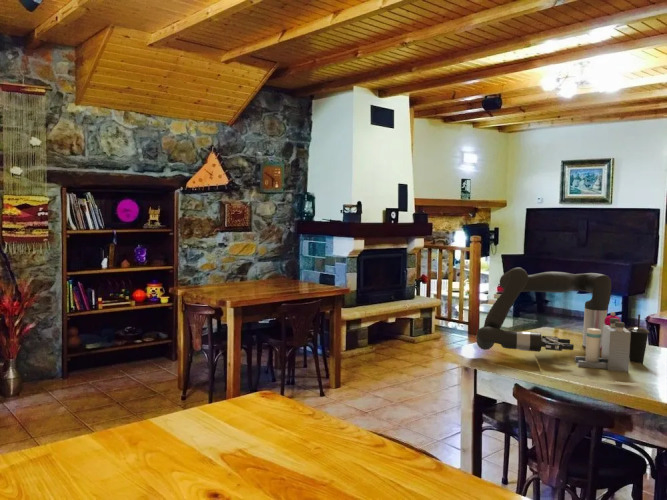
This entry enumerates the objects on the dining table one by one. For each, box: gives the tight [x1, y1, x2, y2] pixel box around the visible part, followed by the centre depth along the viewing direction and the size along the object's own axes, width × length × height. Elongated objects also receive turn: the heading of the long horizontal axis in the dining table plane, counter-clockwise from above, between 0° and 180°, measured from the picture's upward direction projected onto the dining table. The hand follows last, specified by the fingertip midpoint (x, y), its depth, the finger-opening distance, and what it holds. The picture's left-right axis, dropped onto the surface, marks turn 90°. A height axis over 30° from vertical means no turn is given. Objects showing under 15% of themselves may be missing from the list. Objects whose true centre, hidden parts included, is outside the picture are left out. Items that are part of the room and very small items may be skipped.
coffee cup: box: [584, 328, 601, 362], centre depth 218 cm, size 5×5×14 cm
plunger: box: [610, 318, 620, 327], centre depth 219 cm, size 3×3×6 cm
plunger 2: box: [615, 321, 625, 332], centre depth 212 cm, size 3×3×6 cm
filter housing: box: [574, 325, 631, 373], centre depth 217 cm, size 12×17×16 cm
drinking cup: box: [627, 314, 650, 365], centre depth 226 cm, size 8×8×20 cm
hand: (571, 344), depth 220 cm, fingers open, 8 cm apart
